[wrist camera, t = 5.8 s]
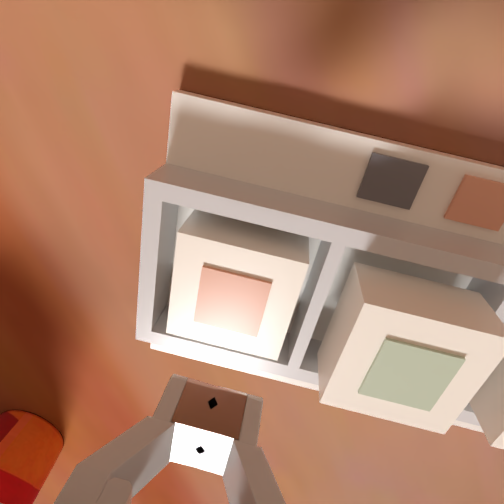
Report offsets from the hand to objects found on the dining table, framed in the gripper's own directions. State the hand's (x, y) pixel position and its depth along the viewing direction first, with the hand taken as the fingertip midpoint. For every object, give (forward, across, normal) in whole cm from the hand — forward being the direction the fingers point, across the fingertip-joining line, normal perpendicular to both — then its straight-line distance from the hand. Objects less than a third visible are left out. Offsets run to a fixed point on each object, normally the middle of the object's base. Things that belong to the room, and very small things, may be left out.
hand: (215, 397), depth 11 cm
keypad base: (+9, +7, 0) cm, 12 cm away
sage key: (+6, +7, 0) cm, 9 cm away
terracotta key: (+8, -1, 0) cm, 8 cm away
